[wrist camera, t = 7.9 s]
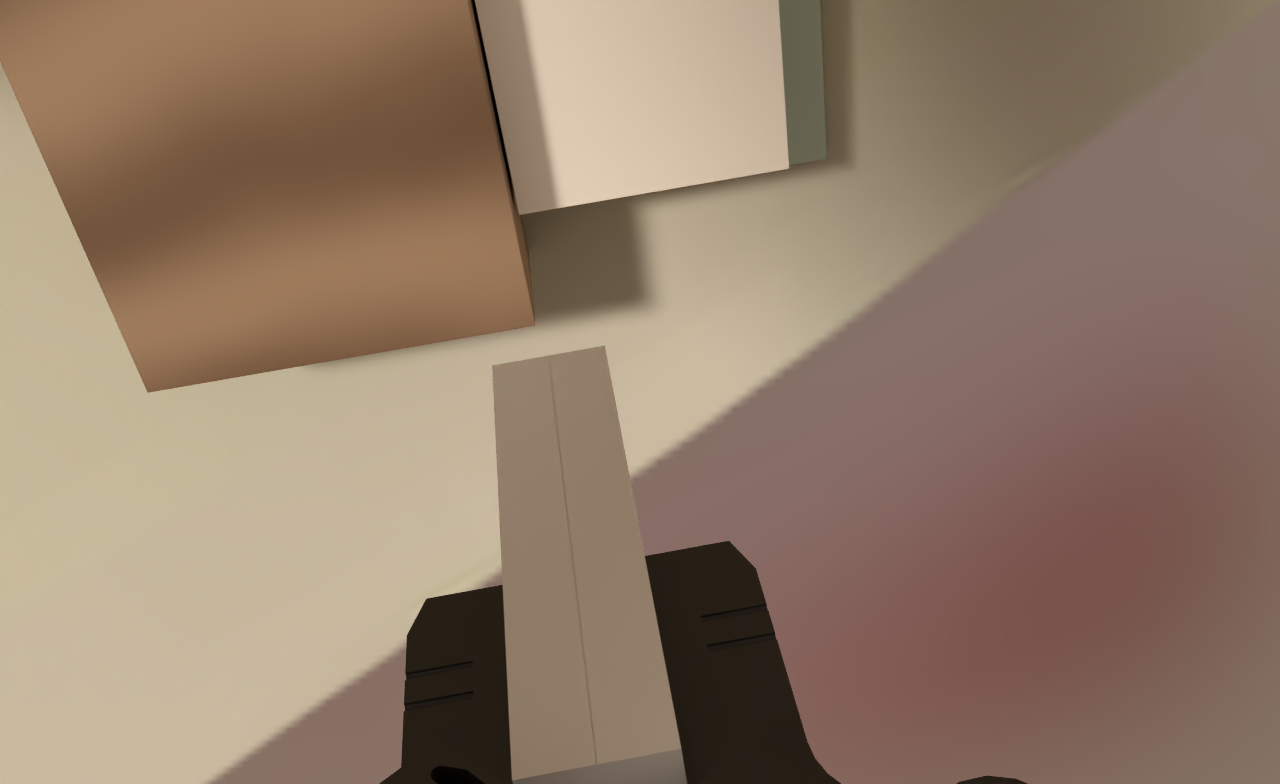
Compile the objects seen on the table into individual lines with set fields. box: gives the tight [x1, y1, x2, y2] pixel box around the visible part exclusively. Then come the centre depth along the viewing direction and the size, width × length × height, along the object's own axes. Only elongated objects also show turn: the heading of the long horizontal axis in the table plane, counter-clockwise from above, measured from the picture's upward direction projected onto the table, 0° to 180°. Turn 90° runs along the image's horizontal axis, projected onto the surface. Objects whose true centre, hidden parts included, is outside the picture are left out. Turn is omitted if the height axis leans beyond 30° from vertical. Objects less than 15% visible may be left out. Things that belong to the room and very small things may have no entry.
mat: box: [779, 0, 827, 165], centre depth 30 cm, size 10×8×1 cm
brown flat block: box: [0, 0, 535, 392], centre depth 29 cm, size 11×10×4 cm
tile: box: [475, 0, 789, 215], centre depth 30 cm, size 7×7×2 cm
